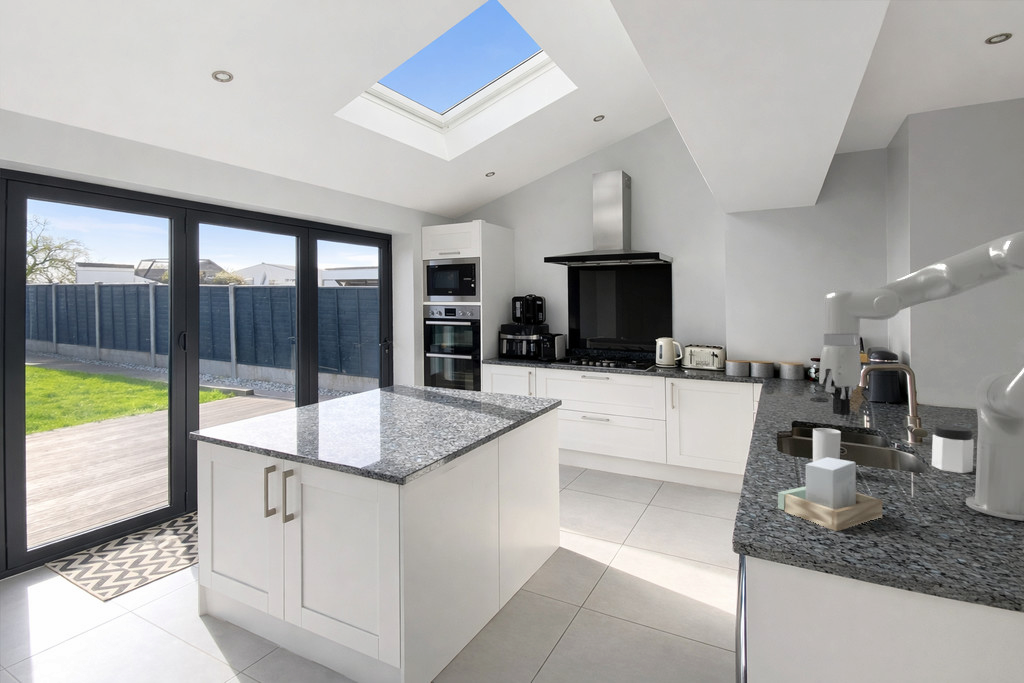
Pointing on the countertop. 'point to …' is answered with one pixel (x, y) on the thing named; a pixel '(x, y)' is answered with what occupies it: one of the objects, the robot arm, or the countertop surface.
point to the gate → (795, 492)
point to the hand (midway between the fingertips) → (841, 414)
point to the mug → (826, 443)
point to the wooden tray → (835, 511)
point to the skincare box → (831, 483)
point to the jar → (952, 449)
